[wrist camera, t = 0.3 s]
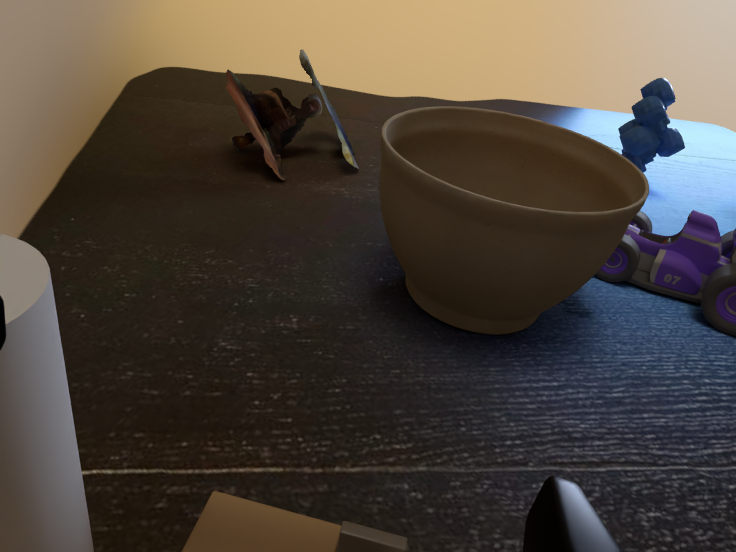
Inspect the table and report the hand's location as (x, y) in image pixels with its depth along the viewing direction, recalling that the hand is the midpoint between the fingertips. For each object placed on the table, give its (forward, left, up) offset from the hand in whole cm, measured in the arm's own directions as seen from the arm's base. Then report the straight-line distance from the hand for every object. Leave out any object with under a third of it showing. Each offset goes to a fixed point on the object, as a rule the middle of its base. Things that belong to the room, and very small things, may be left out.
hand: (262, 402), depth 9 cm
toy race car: (+39, -20, -16) cm, 46 cm away
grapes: (+59, -21, -16) cm, 64 cm away
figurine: (+48, +13, -16) cm, 52 cm away
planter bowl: (+30, -5, -16) cm, 34 cm away
